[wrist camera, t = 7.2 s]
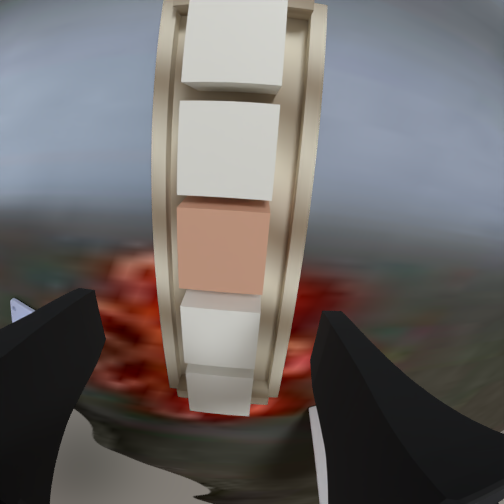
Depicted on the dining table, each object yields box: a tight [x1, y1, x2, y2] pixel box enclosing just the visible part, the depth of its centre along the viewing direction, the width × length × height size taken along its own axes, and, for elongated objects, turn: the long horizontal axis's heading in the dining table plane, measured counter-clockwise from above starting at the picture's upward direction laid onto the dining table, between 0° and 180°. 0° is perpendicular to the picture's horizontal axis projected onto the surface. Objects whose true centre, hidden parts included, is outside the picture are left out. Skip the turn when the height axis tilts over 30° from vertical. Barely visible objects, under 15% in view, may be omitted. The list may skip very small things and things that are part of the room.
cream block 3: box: [180, 289, 261, 369], centre depth 18 cm, size 4×4×4 cm
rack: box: [151, 0, 327, 405], centre depth 17 cm, size 26×8×3 cm, turn 176°
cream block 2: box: [177, 101, 280, 201], centre depth 14 cm, size 4×4×4 cm
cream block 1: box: [181, 0, 288, 95], centre depth 12 cm, size 4×4×4 cm
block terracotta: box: [177, 196, 270, 295], centre depth 15 cm, size 4×4×4 cm
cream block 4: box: [186, 363, 254, 416], centre depth 20 cm, size 4×4×4 cm
